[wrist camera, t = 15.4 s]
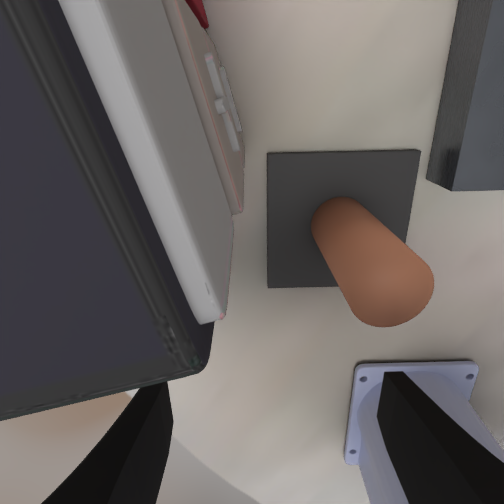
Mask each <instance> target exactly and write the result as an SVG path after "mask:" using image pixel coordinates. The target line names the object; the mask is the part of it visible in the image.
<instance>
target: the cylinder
mask: <svg viewBox="0 0 504 504" xmlns="http://www.w3.org/2000/svg"><path fill="white" fill-rule="evenodd" d="M311 232H312V235H313V237H314V239H315V241H316V243H317V245H318V247H319V249H320V251H321V253H322V255H323V257H324V259H325V260H326V262H327V264H328V266H329V268H330V270H331V272H332V274H333V276H334V278H335V280H336V281H337V283H338V285H339V287H340V289H341V291H342V293H343V295H344V297H345V299H346V301H347V302H348V304H349V306H350V308H351V310H352V312H353V313H354V315H355V316H356V317H357V318H358V319H359V320H361V321H362V322H364V323H366V324H368V325H371V326H376V327H392V326H396V325H399V324H402V323H405V322H407V321H409V320H411V319H412V318H414V317H415V316H417V315H418V314H419V313H420V312H421V311H422V310H423V309H424V308H425V306H426V305H427V304H428V302H429V300H430V298H431V296H432V293H433V289H434V277H433V274H432V271H431V269H430V267H429V266H428V265H427V264H426V262H424V261H423V260H422V259H421V258H420V257H419V256H418V255H417V254H416V253H414V252H413V251H412V250H411V249H410V248H409V247H408V246H407V245H406V244H404V243H403V242H402V241H401V240H400V239H399V238H398V237H397V236H396V235H394V234H393V233H392V232H391V231H390V230H389V229H388V228H387V227H386V226H384V225H383V224H382V223H381V222H380V221H379V220H378V219H377V218H376V217H374V216H373V215H372V214H371V213H370V212H369V211H368V210H367V209H366V208H364V207H363V206H362V205H361V204H360V203H359V202H358V201H356V200H354V199H352V198H349V197H336V198H332V199H329V200H328V201H326V202H324V203H323V204H322V205H320V206H319V208H318V209H317V210H316V211H315V213H314V215H313V217H312V221H311Z"/></svg>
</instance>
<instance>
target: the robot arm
mask: <svg viewBox="0 0 504 504" xmlns="http://www.w3.org/2000/svg"><path fill="white" fill-rule="evenodd" d="M478 372H479V367H478V365H477V364H476V363H475V362H473V361H453V362H413V363H374V364H360V365H358V366H357V367H356V369H355V375H354V382H353V390H352V398H351V405H350V413H349V421H348V428H347V436H346V444H345V451H344V460H345V463H346V464H349V465H359V467H360V471H361V474H362V477H363V480H364V484H365V487H366V490H367V494H368V497H369V500H370V504H504V450H503V449H502V448H501V446H500V445H499V443H498V442H497V441H496V439H495V438H494V437H493V435H492V434H491V432H490V431H489V430H488V428H487V427H486V425H485V424H484V423H483V421H482V420H481V418H480V417H479V416H478V414H477V413H476V411H475V410H474V409H473V407H472V406H471V404H470V403H469V400H470V397H471V394H472V390H473V387H474V384H475V381H476V378H477V375H478ZM363 376H365V377H363ZM361 377H363V378H361ZM172 428H173V415H172V409H171V402H170V396H169V390H168V383H167V381H166V382H162V383H158V384H154V385H149V386H145V387H141V388H140V389H139V390H138V391H137V393H136V394H135V396H134V397H133V398H132V400H131V401H130V403H129V404H128V405H127V407H126V408H125V409H124V411H123V412H122V413H121V415H120V416H119V417H118V419H117V420H116V421H115V422H114V424H113V425H112V426H111V428H110V429H109V430H108V431H107V433H106V434H105V435H104V436H103V438H102V439H101V440H100V441H99V442H98V444H97V445H96V446H95V447H94V448H93V449H92V450H91V452H90V453H89V454H88V455H87V456H86V458H85V459H84V460H83V461H82V462H81V463H80V464H79V466H77V468H76V469H75V470H74V471H73V472H72V473H71V474H70V475H69V476H68V477H67V478H66V479H65V480H64V481H63V483H62V484H61V485H60V486H59V487H58V488H57V489H56V490H55V491H54V492H53V493H52V494H51V495H50V496H49V497H48V498H47V499H46V500H44V501H43V502H42V503H41V504H156V500H157V497H158V493H159V489H160V485H161V481H162V478H163V473H164V470H165V466H166V462H167V458H168V454H169V448H170V441H171V435H172Z"/></svg>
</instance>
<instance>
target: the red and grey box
mask: <svg viewBox="0 0 504 504" xmlns="http://www.w3.org/2000/svg"><path fill="white" fill-rule="evenodd" d="M208 27H209V24H208V20H207V17H206V13H205V10H204V6H203V3H202V0H0V421H2V420H7V419H11V418H16V417H20V416H23V415H28V414H32V413H36V412H41V411H45V410H49V409H53V408H57V407H61V406H66V405H70V404H74V403H78V402H83V401H87V400H91V399H95V398H99V397H103V396H108V395H111V394H116V393H120V392H124V391H129V390H133V389H137V388H141V387H145V386H149V385H154V384H158V383H162V382H166V381H170V380H175V379H179V378H183V377H186V376H190V375H194V374H197V373H199V372H201V371H202V370H203V369H204V368H205V367H206V365H207V363H208V360H209V356H210V350H211V343H212V336H213V329H214V322H215V321H217V320H221V319H223V318H224V316H225V315H226V310H227V303H228V292H229V281H230V269H231V258H232V247H233V235H234V223H233V219H232V215H234V214H238V213H241V212H242V211H243V203H244V162H245V149H244V145H243V141H242V138H241V134H240V132H242V128H241V124H240V121H239V117H238V114H237V110H236V107H235V103H234V100H233V96H232V93H231V89H230V86H229V82H228V79H227V75H226V72H225V68H224V66H221V65H220V62H219V58H218V55H217V51H216V48H215V45H214V43H213V42H212V40H211V39H210V37H209V36H208V34H207V33H206V31H205V30H204V29H206V28H208Z"/></svg>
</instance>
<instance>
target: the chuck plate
mask: <svg viewBox="0 0 504 504" xmlns="http://www.w3.org/2000/svg"><path fill="white" fill-rule="evenodd" d="M426 179H427V180H429V181H431V182H433V183H436V184H438V185H440V186H442V187H444V188H446V189H448V190H450V191H486V190H504V0H459V4H458V9H457V15H456V20H455V25H454V31H453V36H452V42H451V47H450V53H449V58H448V63H447V69H446V74H445V80H444V85H443V90H442V96H441V101H440V107H439V112H438V118H437V123H436V128H435V134H434V139H433V145H432V150H431V155H430V161H429V166H428V172H427V177H426Z"/></svg>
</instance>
